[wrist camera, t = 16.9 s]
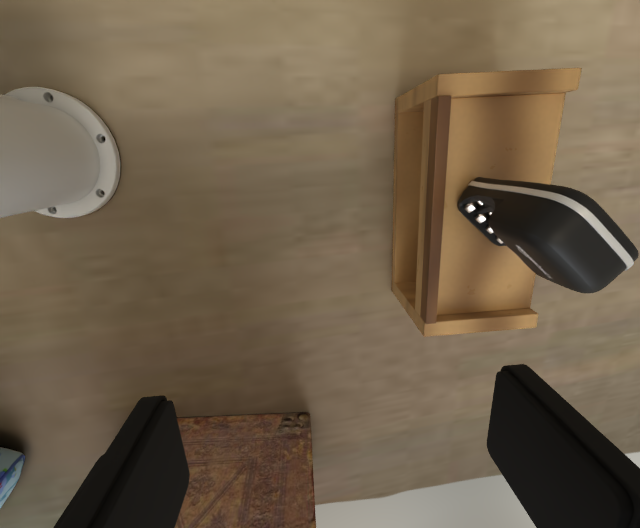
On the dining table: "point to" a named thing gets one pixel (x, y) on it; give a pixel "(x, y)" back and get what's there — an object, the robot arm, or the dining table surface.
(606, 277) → the battery charger
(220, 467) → the book
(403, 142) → the tray
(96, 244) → the dining table surface
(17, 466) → the lunch box
